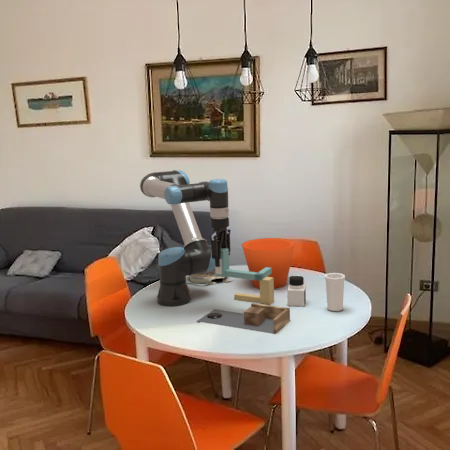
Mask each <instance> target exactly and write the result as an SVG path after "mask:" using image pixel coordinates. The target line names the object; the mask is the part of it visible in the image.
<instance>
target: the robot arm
mask: <svg viewBox="0 0 450 450" xmlns="http://www.w3.org/2000/svg"><path fill="white" fill-rule="evenodd" d="M228 186H229V185H228V181H227V179H224V178H213V179H210V180H209V181H206V180H205V181H200V182H198V183H190V178H189V176H188V174H187V173H186V172H185V171H183V170H178V169H177V170H170V171H159V172H156V171H154V172H151V173H148V174H147V175H145V176H143V177H142V179H141V180H140V183H139V188H140V191H141V192H142V194H143V195H144V196H146V197H148V198H159V199H163V200H165V202H166V203H167V204H168V205H170V207H171V209H172V213H173V214H174V218H175V221H176V224H177V227H178V229H179V232H180V235H181V238H182V240H183V241H182V242H183V244H184V245H183V246H175V247H169V248H165V249H163V250H162V251H160V252H159V254H158V256H157V257H158V258H157V259H158V262H157V265H158V272H159V273H158V274H159V283H160V284H159V289H158V293H157V296H156V298H157V300H156V301H157V303H158V305H161V306H166V307H176V306H182V305H185V304H188V303H190V302H191V301H192V293H191V292H190V291H191V290H190V289H189V286H188V283H187V277H189V276H188V275H193V274H199V273H206V272H208V271H212V270H213V269H214V268H215V269H216V274H222V259H220V257H221V248H227V249H229V256H230V255H231V229H230V228H229V229H228V227H230V217H229V212H230V210H229V187H228ZM203 201H207V202H209V212H210V213H209V214H210V215H209V216H210V227H211V228H213V233H212V234H211V235H209V240H210V244H209V243H208V240H207V239H205V238H203V237H202V234H201V231H200V229H199V226H198V224H197V223H198V222H197V221H196V218H195V216H194V215H195V214H194V212H193V209H192V206H191V204H190V203H196V202H203ZM214 259H215V267H214Z"/></svg>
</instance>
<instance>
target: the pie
mask: <svg viewBox="0 0 450 450" xmlns="http://www.w3.org/2000/svg"><path fill="white" fill-rule="evenodd" d="M187 277H188V278H189V282H190V284H193V285H195V286H196V284H198V285H199V284H200V285H201V284H206V285H203V287H205V286H207V287H208V285H211V286H213V285H214V286H215V285H217V282H215V281H212V280H216V279H222V283H231V282H233V280H235V279H236V278H235V279H234V278H233V279H232V280H226V279H225V278H226V277H220V276H215V268H214V269H213V270H212V271H208V272H206V273H199V274H193V275H188V276H187ZM194 283H195V284H194Z"/></svg>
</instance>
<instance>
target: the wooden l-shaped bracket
mask: <svg viewBox="0 0 450 450" xmlns="http://www.w3.org/2000/svg"><path fill="white" fill-rule="evenodd" d="M250 307H257V308H264V309H265V318H267V319H273V327H274V333H276V334H278V333H279V332H280V331H281V330H282V329H283V328H284V327H285V326H286V325H287V324H288V323H289V322H290V321H291V309H290V307H284V306H283V307H282V306H275V305H265V304H260V303H255V302H251V304H250ZM280 329H281V330H280Z"/></svg>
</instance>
